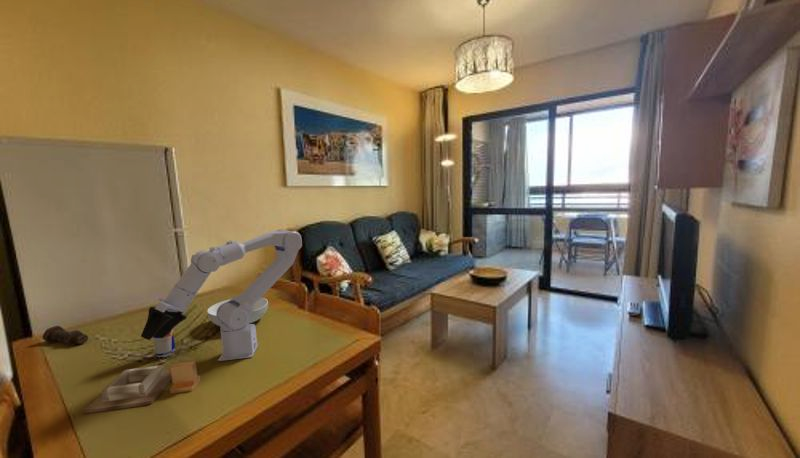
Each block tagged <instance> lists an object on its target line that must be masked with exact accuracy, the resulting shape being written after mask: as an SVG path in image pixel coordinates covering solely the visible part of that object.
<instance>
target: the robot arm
mask: <svg viewBox="0 0 800 458" xmlns="http://www.w3.org/2000/svg"><path fill="white" fill-rule="evenodd" d="M267 246H273V247H274V250H275V255H276V256H275V257H276V258H275V259H274V260H273V261H272V262H271V263H270V264H269V265H267V267H266V268H265V269H263V271H262V272H261V273H260V274H259V275H258V276H257V277H256V278H255V279H254V280H253V281H252V282H251V283H250V284H249V285H248V286H247V287H245V289H244V290H243V291H242V292H241V293H240V294H237V295H236V296H233V297H231V298H230V299H231V300H229V299H228V300H229V301H228V302H225V303H223V304H222V305H220V306H219V308H218V309H217V313H216V315H217V318H218V319H219V320H220V321H222V322H221V326H219V327H220V328H219V329H220V330H219V331H220V338H221V346H222V347H221V348H222V353H221V355H220V356H219V358H218V359H217V361H218V362H222V361H223V362H225V361H233V360H238V359H239V360H240V359H250V358H252V357H253V356H254V354H255V353H256V352H255V351H257V348H258V346H259V344H258V339H257V336H258V335H257V328H256V324H254V323H250V324H247V322H248V319H249V317H250V315H251V314H252V313H253V312H254V305H255V303H256V302H257V301H258V300H259V299H260V298H261V297H262V298H263V296H264V295H265V294H266V293H267V292H268V291H269V290H270V289H271V288H272V287H273V286H274V285H275V284H276V283H277V281H278V280H279V279H281V278H282V276H283V275H285V273H286V272H287V271H288V270H289V269H290V268H291V267H292V266H293V265H294V263H295V260H296V258H297V256H298V253H299V250H300V249H302V247H303V240H302V235H301V234H300V233H299V232H298V231H296V230H286V229H282V228H281V229H280V228H279V229H277V230H272V231H268V232H267V233H263V234H261V235H258V236H256V237H253V238H251V239H248V240H246V241H243V242H239V241H238V240H235V241H233V240H227V241H226V243H225V244H221V245H218V246H216V247H215V246H211V247H209V250H206V249H205V250H204V249H203V250H199V251H197V252H196V253H195V254H192V255H191V258H190V265H189V266H188V267H187V269H185V270H184V272H183V274H182V275H181V276H180V278H179V279H178V280H177V282H176V284H175V285H174V286H173V287H172V289H171V290H170V292H169V293H168V295H166V297H165V299H164V298H159V299H158V301H159V303H158V304H157V305H156V307H155V306H150V308H149V309H148V315H147V320H146V322H145V325H144V328H143V330H142V332H141V335H140V337H142V338H143V339H145V340H148V341H150V340H151V339H153V336H154V335H155V336H157V337H160V338H164V337H165V336H166V335H167V334H168V333H169V332H170V331H171V330H172V329H173V330H174V328H175V327H176V326H177V325H179V324H180V323H181V322H183V321H185V320H186V319H187V315H185V312H186V311H187V309H189V305H191V302H193V300H194V299H195V297H196V296H197V294H198V292H199V291H200V290H201V288H202V287H203V285H204V284H205V282H206V281H207V280H208V277H209V276H210V275H211V273H212V272H216V271H218V270H219V269H220V267H223V266H225V265H228V264H230V263H233V262H236V261H239V260H242V259H243V258H244V256H245V254H246V253H248V252H252V251H253V252H254V251H255V250H259V249H262V248H265V247H267Z"/></svg>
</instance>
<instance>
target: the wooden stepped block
mask: <svg viewBox="0 0 800 458" xmlns="http://www.w3.org/2000/svg"><path fill="white" fill-rule="evenodd" d="M170 370H171V375H172V381H171V382H172V386H171V387H170V389H169V391H170V392H169V393H170V394H173V395H174V394H178V393H186V392H192V391H194V389H195V388H196V387H197V385H198V383H199V382H200V381H201V375H198V371H197V363H196V361H195V360H192V361H187V362H178V363H174V364H173V365H172V366H170Z"/></svg>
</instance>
